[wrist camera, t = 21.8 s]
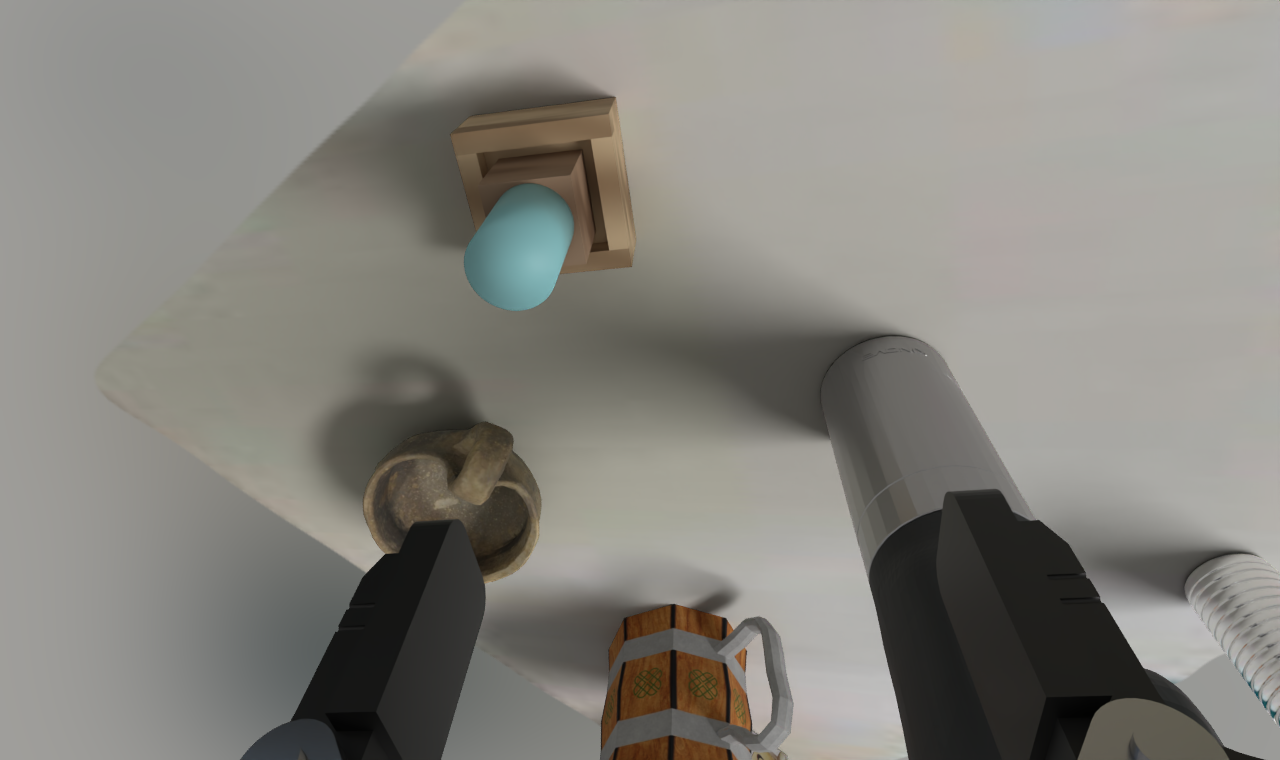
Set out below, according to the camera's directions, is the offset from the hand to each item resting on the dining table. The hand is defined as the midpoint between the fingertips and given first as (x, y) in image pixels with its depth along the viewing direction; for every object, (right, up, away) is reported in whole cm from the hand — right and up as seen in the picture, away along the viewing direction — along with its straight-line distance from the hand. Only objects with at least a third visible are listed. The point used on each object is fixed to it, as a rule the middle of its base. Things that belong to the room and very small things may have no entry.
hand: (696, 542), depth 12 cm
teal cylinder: (-7, +11, +27) cm, 30 cm away
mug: (+5, -22, +57) cm, 61 cm away
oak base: (-6, +15, +34) cm, 37 cm away
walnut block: (-6, +14, +31) cm, 35 cm away
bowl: (-14, -4, +47) cm, 49 cm away
